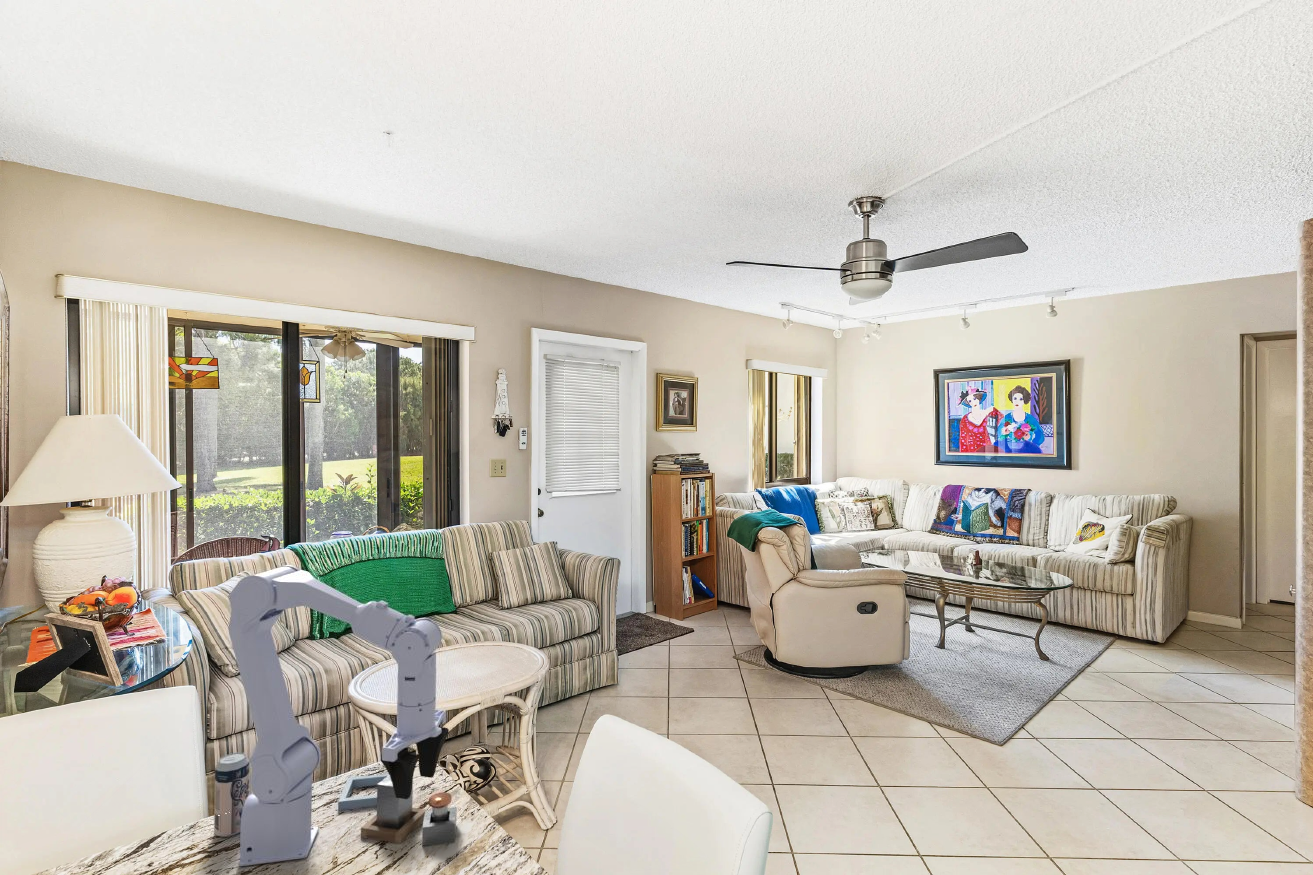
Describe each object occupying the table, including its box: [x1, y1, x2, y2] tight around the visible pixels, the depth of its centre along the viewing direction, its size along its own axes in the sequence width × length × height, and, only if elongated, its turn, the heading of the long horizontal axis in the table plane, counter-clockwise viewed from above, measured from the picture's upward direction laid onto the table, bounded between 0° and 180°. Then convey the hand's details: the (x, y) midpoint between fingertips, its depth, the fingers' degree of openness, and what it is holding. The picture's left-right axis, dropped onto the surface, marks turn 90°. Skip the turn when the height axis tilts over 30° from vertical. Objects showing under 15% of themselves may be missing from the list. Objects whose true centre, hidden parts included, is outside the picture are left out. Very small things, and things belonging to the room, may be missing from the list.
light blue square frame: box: [337, 773, 389, 811], centre depth 122 cm, size 9×9×2 cm
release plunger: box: [428, 791, 452, 823], centre depth 110 cm, size 4×4×4 cm
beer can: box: [213, 752, 250, 838], centre depth 110 cm, size 5×5×12 cm
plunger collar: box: [421, 806, 457, 847], centre depth 110 cm, size 5×5×3 cm
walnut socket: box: [360, 807, 428, 844], centre depth 112 cm, size 7×7×2 cm
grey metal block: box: [376, 775, 414, 830], centre depth 112 cm, size 4×4×8 cm
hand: (415, 786), depth 105 cm, fingers open, 6 cm apart
